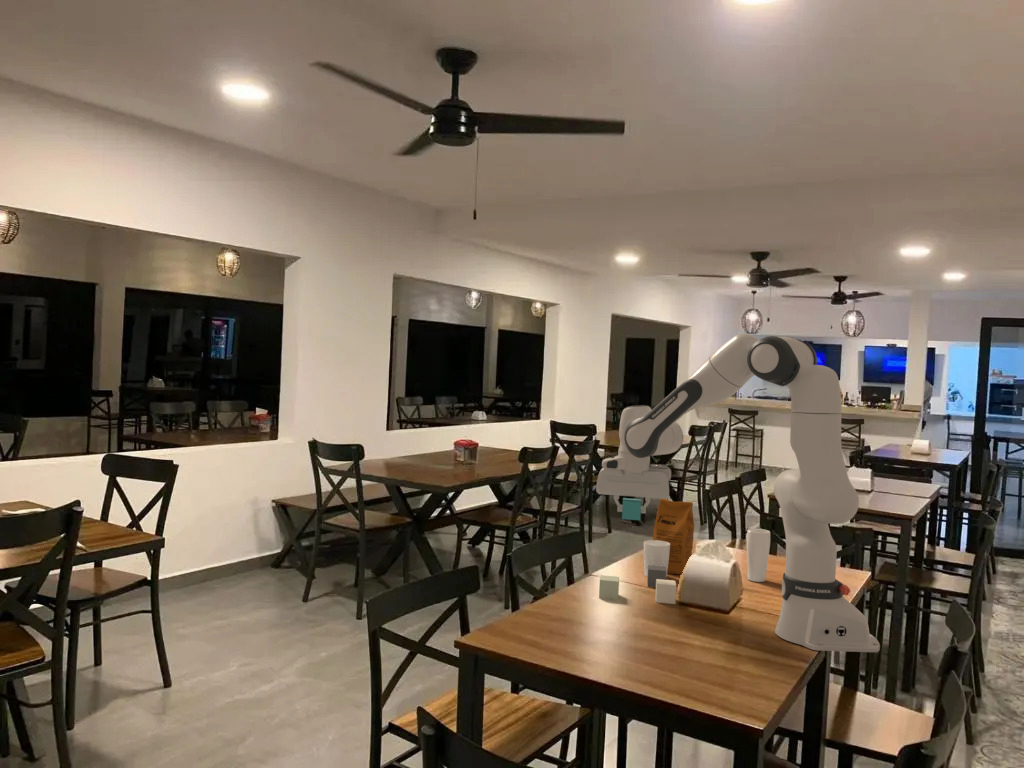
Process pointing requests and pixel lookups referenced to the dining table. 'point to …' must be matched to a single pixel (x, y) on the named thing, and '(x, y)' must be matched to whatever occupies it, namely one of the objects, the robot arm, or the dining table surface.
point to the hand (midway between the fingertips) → (631, 512)
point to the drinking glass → (757, 554)
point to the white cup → (656, 554)
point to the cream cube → (665, 591)
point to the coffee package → (675, 532)
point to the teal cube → (631, 509)
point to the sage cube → (609, 587)
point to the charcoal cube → (655, 574)
